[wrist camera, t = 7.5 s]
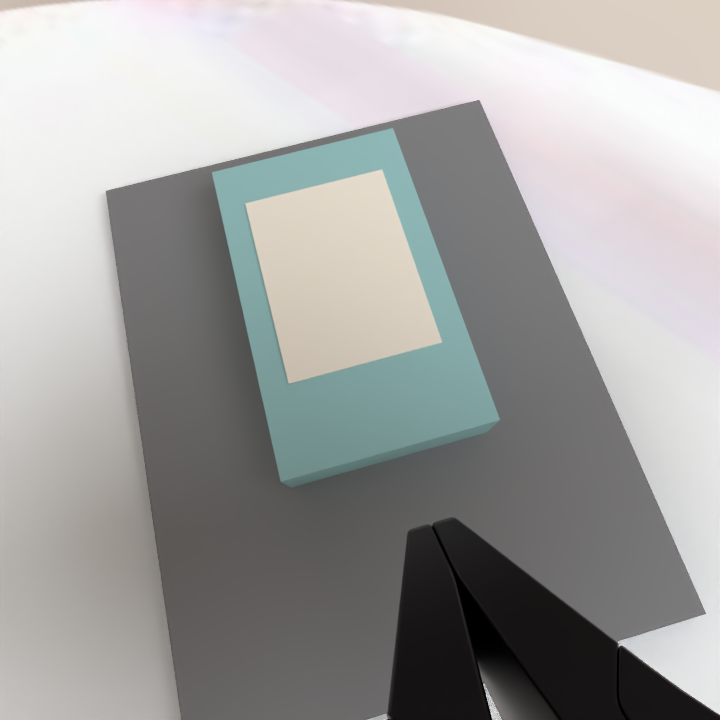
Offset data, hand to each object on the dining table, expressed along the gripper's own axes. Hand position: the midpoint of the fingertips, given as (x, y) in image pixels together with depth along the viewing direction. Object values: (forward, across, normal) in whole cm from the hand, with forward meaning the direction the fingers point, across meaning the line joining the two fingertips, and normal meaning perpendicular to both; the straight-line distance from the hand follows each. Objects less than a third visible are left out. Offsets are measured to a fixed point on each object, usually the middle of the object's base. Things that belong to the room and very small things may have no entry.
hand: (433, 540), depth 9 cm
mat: (+8, 0, +1) cm, 8 cm away
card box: (+5, 0, +2) cm, 6 cm away
